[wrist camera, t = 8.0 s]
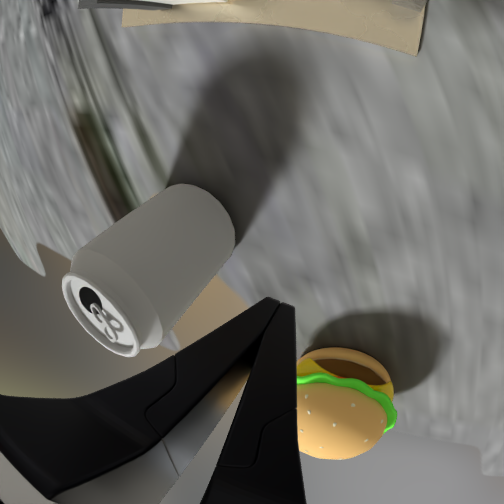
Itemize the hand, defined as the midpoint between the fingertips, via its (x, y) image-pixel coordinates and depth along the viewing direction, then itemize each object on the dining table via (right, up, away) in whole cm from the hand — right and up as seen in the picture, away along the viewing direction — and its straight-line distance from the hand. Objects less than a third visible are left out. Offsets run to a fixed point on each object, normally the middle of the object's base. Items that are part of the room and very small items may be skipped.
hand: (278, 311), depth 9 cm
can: (-5, +4, +16) cm, 18 cm away
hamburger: (+8, -10, +20) cm, 24 cm away
